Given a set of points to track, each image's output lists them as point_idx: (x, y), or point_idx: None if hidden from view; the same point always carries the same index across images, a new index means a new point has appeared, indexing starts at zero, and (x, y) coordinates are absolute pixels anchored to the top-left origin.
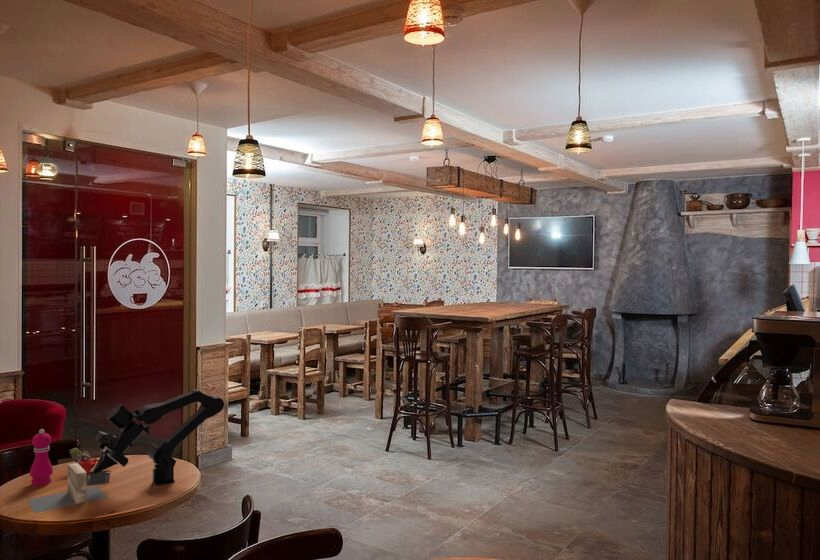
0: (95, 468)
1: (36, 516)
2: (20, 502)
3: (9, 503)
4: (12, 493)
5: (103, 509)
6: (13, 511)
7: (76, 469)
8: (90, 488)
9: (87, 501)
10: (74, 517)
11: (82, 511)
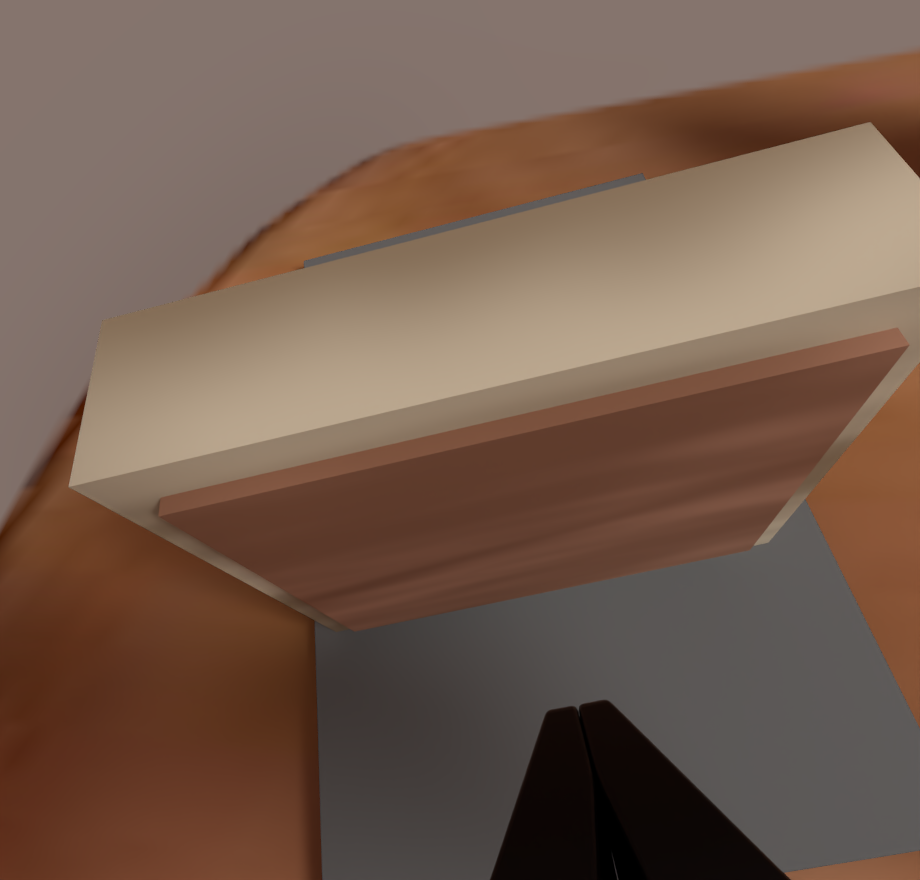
0: (572, 772)
1: None
2: (636, 159)
3: (641, 111)
4: (892, 81)
5: (50, 814)
6: (457, 158)
7: (398, 297)
8: (850, 721)
9: (333, 647)
10: (63, 524)
11: (149, 591)
